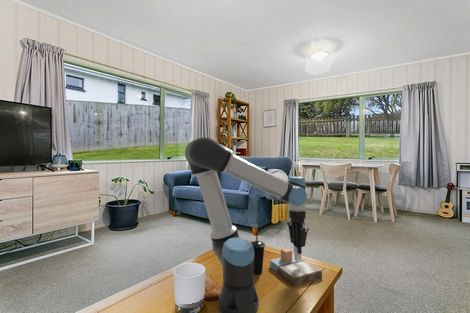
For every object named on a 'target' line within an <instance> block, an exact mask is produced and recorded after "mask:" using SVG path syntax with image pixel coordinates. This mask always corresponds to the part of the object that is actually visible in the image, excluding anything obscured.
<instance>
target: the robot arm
mask: <svg viewBox="0 0 470 313" xmlns="http://www.w3.org/2000/svg"><path fill="white" fill-rule="evenodd" d="M184 151H185V152H184V153H185V154H184V155H185V159H186V161H187V162H188V164H189V167H190V171H191V175H192V176H194V177H196V179H197V182H198V187H199V188H200V192H201V195H202V199H203V203H204V205H205V209H206V212H207V216H208V220H209V223H210V227H211V230H212V231H211V233H210V235H209V236H210V239H211V242H212V244H211V247H212V250H213V253H214V255H215V256H216V258H217V259H218V261H219V262H220V265H221V266H222V286H221V289H220V293H219V296H218V299H217V300H218V309H219V311H220V312H221V313H257V311H258V310H259V306H260V303H259V301H260V300H259V299H260V298H259V296H258V293H257V291H256V287H255V274H254V248H253V245H252V243H251V242H252V241H250V240H248V239H246V238H243V237H240V235H239V231H238V228H237V226H236V225H234V224H232V220H231V216H230V213H229V209H228V206H227V203H226V199H225V196H224V192H223V188H222V185H221V182H220V178H219V175H218V174H223V173H225V174H227V176H228V175H229V176H231V177H233V178H235V179H237V180H240V181H242V182H244V184H248V185H250V186H252V187H254V188H256V189H259V190H260V191H263V192H264V196H265V198H266V199H267V200H272V201H273V200H279V201H282V202H285V203H286V204H288V209H289V211H288V217H289V218H290V220H289V221H287V222H286V224H287V227H288V234H289V240H290V243H292V245H293V253H294V255H295V260H296V261H299V260H301V259H302V253H303V250H302V249H303V247H306V242H307V237H308V232H309V230H310V228H309V227H308V226H306V224H305V220H306V201H307V198H308V195H307V194H308V193H307V192H306V191H307V190H306V179H305V177H303V176H289V177H288V181H286V180H284V179H283V178H280V177H279V176H276V175H275V174H273V173H271V172H269V171H267V170H265V169H263V168H261V167H259V166H257V165H256V164H253V163H251V162H249V161H247V160H245V159H243V158H241V157H240V156H238V155H235V154H234V153H233V150H232V149H230V148H227V147H226V146H225V145H222V144H221V143H219V142H218V141H216V140H214V139H212V138H209V137H205V136H203V137H198V138H196V139H193V140H192V141H190V142H189V143H188V144H187V146H186V147H185V150H184Z"/></svg>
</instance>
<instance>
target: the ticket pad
mask: <svg viewBox="0 0 470 313" xmlns="http://www.w3.org/2000/svg"><path fill="white" fill-rule="evenodd" d="M302 260H303V261H299V262H295V263H291V264H286V265H282V266H279V267H278V273H277V275H278V276H279V277H281V278H282V279H283V280H285V281H286V282H288V283H289V284H290V285H291V286H293V287H297V286H300V285H303V284H308V283H311V282H313V281H317V280H321V278H322V279H323V271H322V270H321V269H319V268H317V267H316V266H314V265H312V264H310V263H309V262H308V261H306V260H305V259H302Z"/></svg>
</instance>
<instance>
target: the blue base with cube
mask: <svg viewBox="0 0 470 313" xmlns="http://www.w3.org/2000/svg"><path fill="white" fill-rule="evenodd" d="M303 260H304V259H302V258H301V260H299V261H303ZM299 261H296V260H295V254H293V250H291V248H290V249H289V248H288V247H285V248H280V257H278V258H272V259H270V260H269V267H270V268H271V269H272V270H273V271H275V272H276V273H277V274H278V267H279V266H282V265H286V264H291V263H295V262H299Z"/></svg>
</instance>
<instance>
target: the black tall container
mask: <svg viewBox="0 0 470 313" xmlns="http://www.w3.org/2000/svg"><path fill="white" fill-rule="evenodd" d="M255 233H256V234H255V235H256V236H255V240H253V241H250V242H251V243H252V245H253V248H254V276H255V275H258V276H259V275H262V274H263V268H264V267H263V265H264V255H265V247H266V244H265V243H264V242H263V241H260V240H258V237H259V235H258V234H259V231H258V230H256V231H255Z"/></svg>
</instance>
